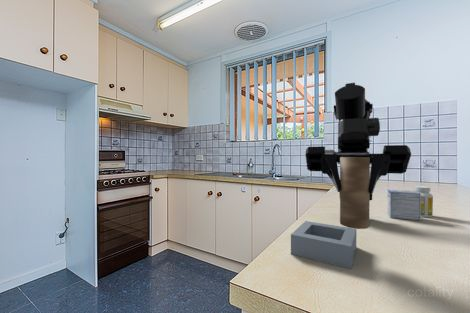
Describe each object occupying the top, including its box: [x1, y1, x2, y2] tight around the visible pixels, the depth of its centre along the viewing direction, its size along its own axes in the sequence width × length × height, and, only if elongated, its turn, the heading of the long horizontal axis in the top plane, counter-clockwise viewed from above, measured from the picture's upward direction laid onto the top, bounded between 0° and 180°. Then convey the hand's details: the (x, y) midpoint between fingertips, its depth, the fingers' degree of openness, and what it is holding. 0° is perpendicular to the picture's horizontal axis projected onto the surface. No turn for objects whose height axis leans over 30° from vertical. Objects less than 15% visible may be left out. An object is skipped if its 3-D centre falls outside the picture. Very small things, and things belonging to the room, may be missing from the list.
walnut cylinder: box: [339, 157, 371, 230], centre depth 43 cm, size 5×5×13 cm
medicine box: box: [387, 189, 422, 221], centre depth 71 cm, size 8×4×9 cm, turn 65°
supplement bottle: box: [414, 185, 434, 218], centre depth 74 cm, size 5×5×10 cm
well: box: [290, 220, 357, 270], centre depth 47 cm, size 11×11×4 cm
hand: (354, 191), depth 42 cm, fingers closed on walnut cylinder, 5 cm apart
